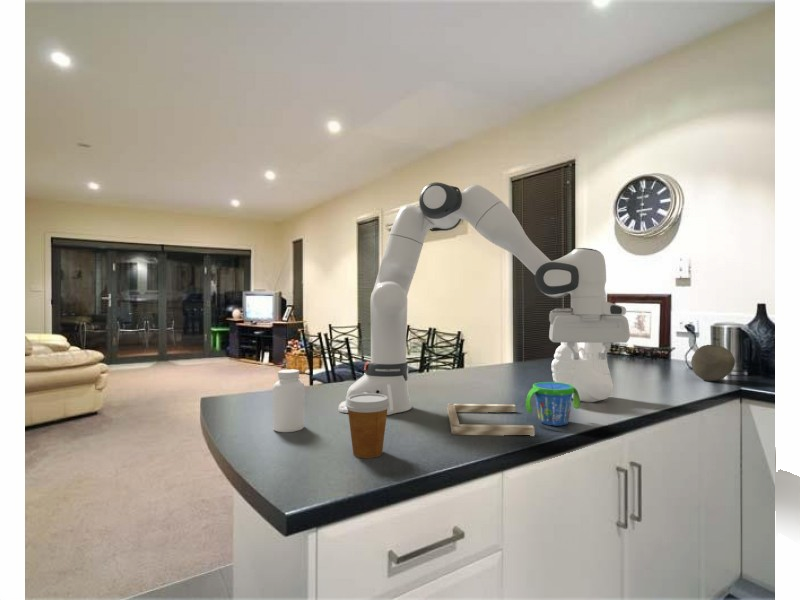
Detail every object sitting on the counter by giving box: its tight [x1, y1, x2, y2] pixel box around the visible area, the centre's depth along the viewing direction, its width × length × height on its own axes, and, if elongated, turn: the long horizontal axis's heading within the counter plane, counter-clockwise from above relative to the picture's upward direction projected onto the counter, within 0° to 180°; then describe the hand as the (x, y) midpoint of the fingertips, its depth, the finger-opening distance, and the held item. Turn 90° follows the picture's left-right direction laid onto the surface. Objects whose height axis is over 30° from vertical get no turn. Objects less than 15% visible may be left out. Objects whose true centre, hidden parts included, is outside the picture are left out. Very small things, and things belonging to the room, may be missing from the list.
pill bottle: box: [272, 368, 306, 433], centre depth 110 cm, size 8×8×15 cm
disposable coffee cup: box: [346, 394, 390, 459], centre depth 92 cm, size 10×10×12 cm
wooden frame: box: [446, 403, 535, 437], centre depth 116 cm, size 20×24×2 cm
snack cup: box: [525, 381, 581, 427], centre depth 115 cm, size 16×10×10 cm
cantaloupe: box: [690, 344, 736, 382], centre depth 176 cm, size 14×14×15 cm
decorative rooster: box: [550, 342, 614, 403], centre depth 142 cm, size 25×16×25 cm, turn 109°
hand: (588, 359), depth 115 cm, fingers open, 6 cm apart
